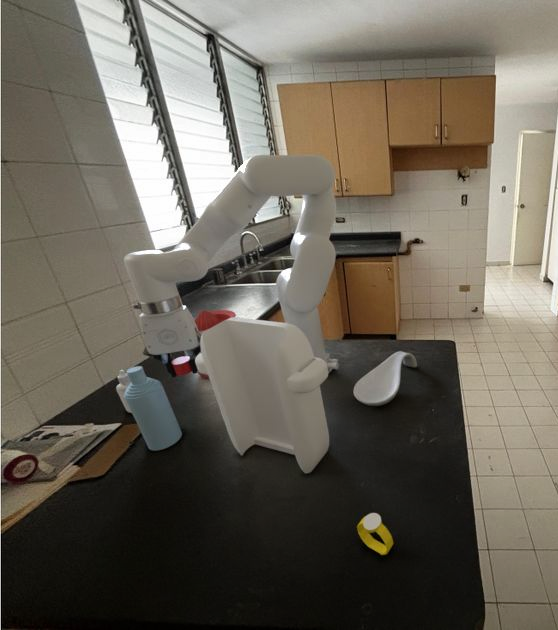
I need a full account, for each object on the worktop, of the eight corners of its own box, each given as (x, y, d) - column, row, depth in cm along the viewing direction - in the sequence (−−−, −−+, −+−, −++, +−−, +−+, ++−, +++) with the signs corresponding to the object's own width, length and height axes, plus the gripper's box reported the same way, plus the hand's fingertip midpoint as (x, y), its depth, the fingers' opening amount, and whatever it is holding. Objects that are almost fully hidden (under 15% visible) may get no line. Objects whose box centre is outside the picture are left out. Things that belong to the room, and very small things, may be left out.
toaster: (355, 442, 74) (336, 317, 62) (326, 483, 64) (297, 345, 52) (257, 418, 82) (224, 305, 70) (219, 452, 72) (173, 327, 61)
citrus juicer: (231, 351, 116) (215, 296, 108) (258, 364, 106) (243, 306, 98) (181, 372, 104) (159, 313, 96) (207, 389, 95) (184, 325, 87)
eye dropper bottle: (132, 418, 84) (113, 378, 80) (125, 410, 88) (106, 371, 83) (152, 408, 88) (135, 369, 83) (145, 401, 91) (128, 363, 86)
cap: (174, 370, 84) (170, 359, 83) (192, 365, 86) (189, 354, 85) (176, 377, 81) (172, 366, 80) (195, 371, 83) (191, 360, 82)
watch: (397, 548, 52) (394, 523, 50) (386, 565, 50) (383, 539, 48) (367, 530, 55) (363, 505, 53) (356, 545, 53) (351, 519, 51)
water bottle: (188, 431, 79) (160, 362, 72) (165, 451, 73) (132, 378, 66) (165, 429, 80) (135, 360, 73) (141, 449, 74) (105, 377, 67)
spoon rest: (384, 418, 80) (382, 394, 77) (345, 406, 85) (341, 382, 82) (427, 369, 99) (426, 348, 97) (393, 361, 104) (391, 341, 102)
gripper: (110, 316, 71) (141, 388, 79) (198, 305, 76) (220, 373, 83) (126, 304, 78) (153, 371, 85) (206, 295, 83) (225, 359, 90)
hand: (186, 372), depth 84 cm, fingers closed on cap, 3 cm apart
